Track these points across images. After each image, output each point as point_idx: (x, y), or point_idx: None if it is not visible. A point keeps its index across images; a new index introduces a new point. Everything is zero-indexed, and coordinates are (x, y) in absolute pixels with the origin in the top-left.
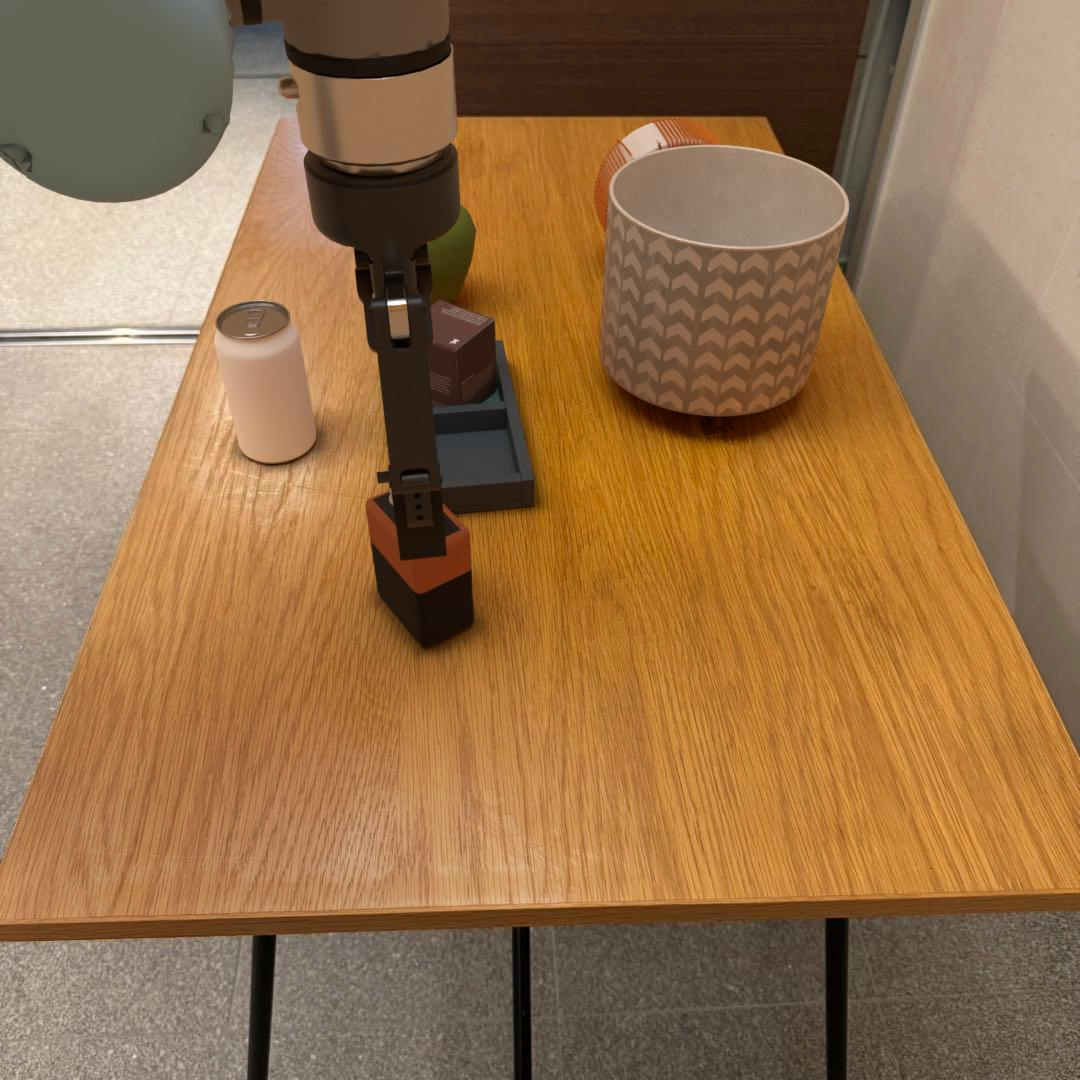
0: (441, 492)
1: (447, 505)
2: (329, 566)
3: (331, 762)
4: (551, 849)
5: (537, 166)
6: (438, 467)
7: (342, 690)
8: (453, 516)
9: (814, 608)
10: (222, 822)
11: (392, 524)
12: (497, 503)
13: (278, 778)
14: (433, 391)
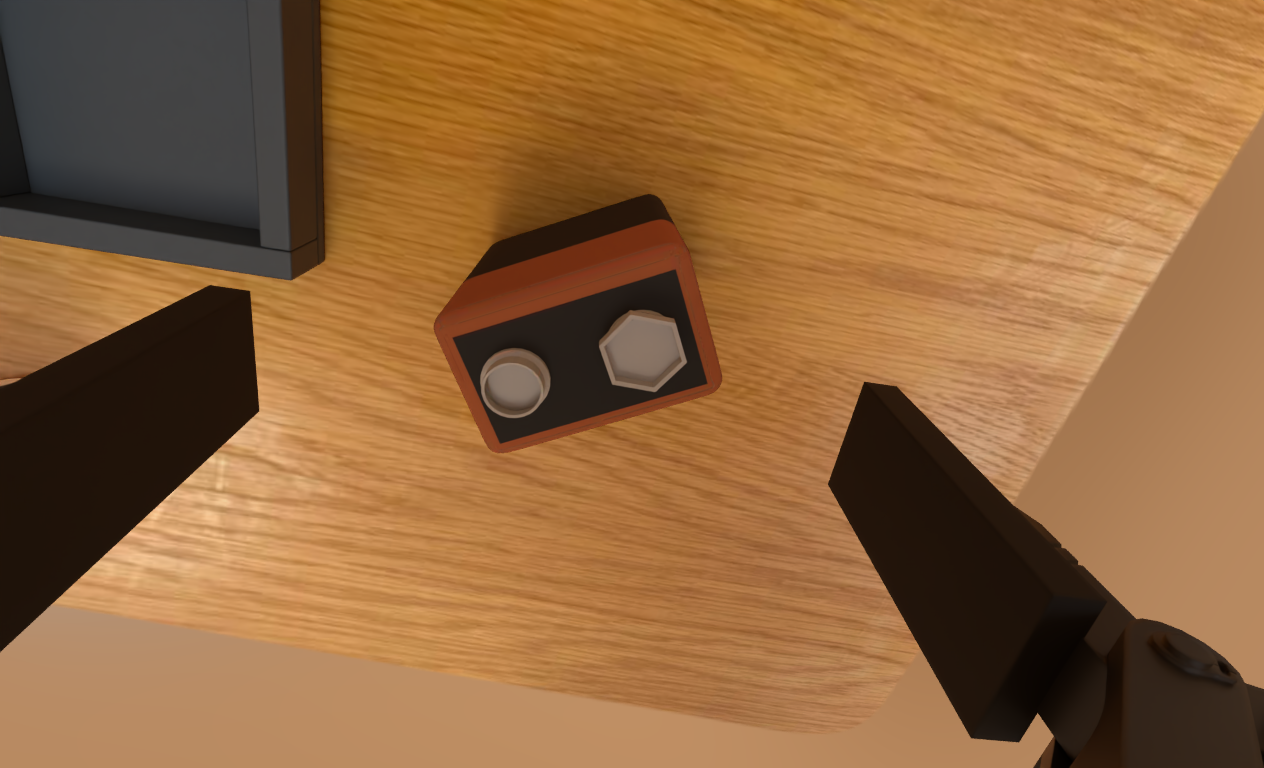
0: (1031, 524)
1: (311, 161)
2: (438, 405)
3: (830, 456)
4: (1120, 205)
5: None
6: (1231, 671)
7: (714, 426)
8: (615, 272)
9: None
10: (855, 574)
11: (601, 417)
12: (312, 33)
13: (824, 516)
14: None
